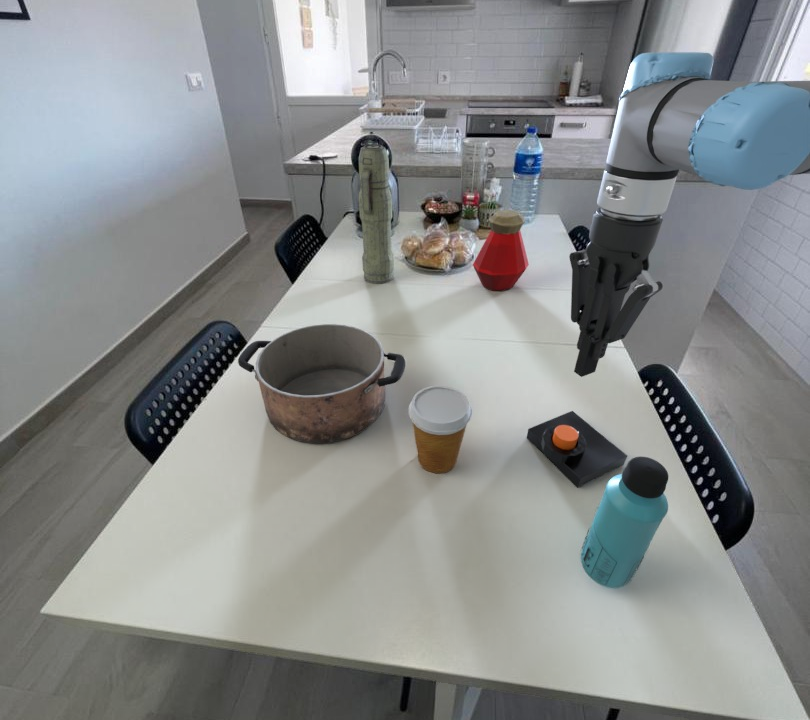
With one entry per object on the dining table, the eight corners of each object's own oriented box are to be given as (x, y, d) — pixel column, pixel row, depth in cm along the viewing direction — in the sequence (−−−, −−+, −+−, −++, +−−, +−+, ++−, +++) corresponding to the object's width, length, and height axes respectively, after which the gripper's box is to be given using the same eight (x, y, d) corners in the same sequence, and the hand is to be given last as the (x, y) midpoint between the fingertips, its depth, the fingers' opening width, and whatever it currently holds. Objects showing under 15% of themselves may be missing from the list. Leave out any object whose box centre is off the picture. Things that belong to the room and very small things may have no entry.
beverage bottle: (640, 590, 56) (701, 488, 44) (592, 602, 55) (640, 501, 43) (610, 543, 61) (658, 440, 49) (565, 553, 60) (602, 450, 48)
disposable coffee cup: (478, 457, 73) (485, 402, 67) (441, 492, 68) (444, 435, 61) (434, 429, 79) (436, 375, 72) (396, 459, 73) (395, 404, 66)
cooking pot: (225, 433, 78) (209, 386, 72) (277, 360, 96) (268, 317, 90) (392, 456, 74) (390, 407, 68) (414, 375, 92) (414, 330, 85)
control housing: (623, 465, 72) (630, 447, 70) (571, 491, 68) (576, 473, 66) (569, 419, 81) (574, 402, 78) (520, 440, 77) (523, 423, 74)
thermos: (357, 284, 126) (347, 150, 106) (370, 267, 136) (363, 141, 115) (387, 287, 125) (383, 151, 104) (398, 270, 134) (396, 142, 114)
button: (580, 445, 71) (583, 436, 70) (563, 453, 69) (566, 444, 68) (564, 431, 73) (567, 422, 72) (547, 438, 72) (549, 429, 71)
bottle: (503, 269, 134) (512, 201, 122) (536, 286, 124) (549, 214, 113) (461, 281, 127) (466, 211, 116) (491, 300, 118) (500, 225, 106)
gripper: (565, 201, 56) (535, 356, 69) (655, 232, 46) (600, 405, 60) (608, 193, 59) (571, 344, 72) (701, 221, 49) (638, 388, 63)
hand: (584, 371), depth 66 cm, fingers closed
